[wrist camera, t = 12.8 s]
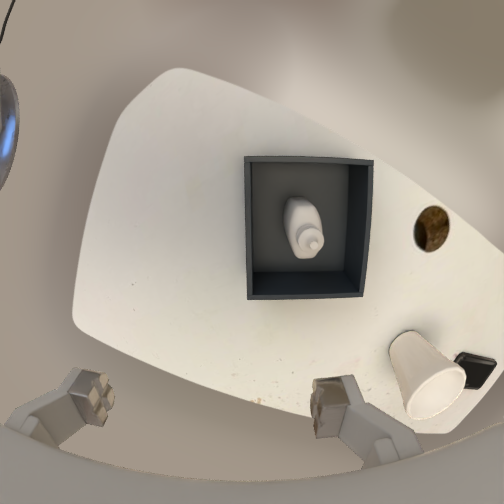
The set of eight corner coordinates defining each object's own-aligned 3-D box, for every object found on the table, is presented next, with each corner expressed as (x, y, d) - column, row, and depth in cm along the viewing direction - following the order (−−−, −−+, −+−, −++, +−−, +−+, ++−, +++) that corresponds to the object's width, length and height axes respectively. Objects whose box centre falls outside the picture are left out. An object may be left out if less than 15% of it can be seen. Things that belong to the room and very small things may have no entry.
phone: (463, 354, 43) (498, 362, 44) (460, 351, 44) (495, 359, 45) (441, 386, 45) (478, 390, 46) (438, 383, 46) (476, 387, 47)
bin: (246, 157, 35) (244, 156, 28) (351, 159, 35) (373, 160, 28) (249, 274, 40) (247, 300, 32) (345, 273, 39) (363, 297, 32)
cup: (411, 371, 45) (440, 420, 32) (367, 364, 44) (393, 420, 32) (438, 325, 42) (478, 369, 30) (395, 314, 41) (434, 364, 29)
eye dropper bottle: (322, 206, 36) (350, 228, 25) (301, 245, 38) (319, 282, 26) (291, 190, 36) (307, 204, 24) (271, 231, 37) (276, 263, 26)
